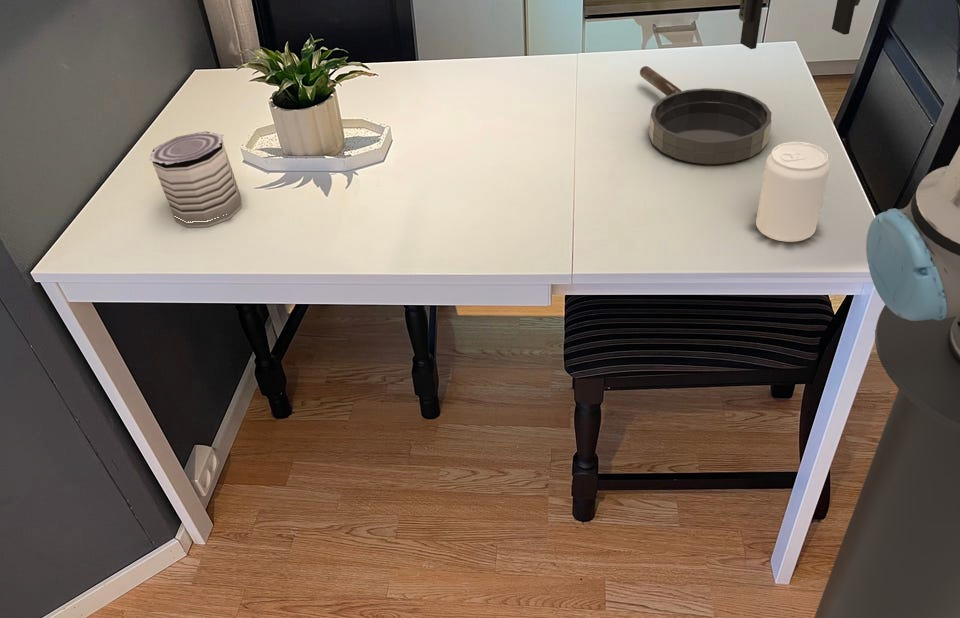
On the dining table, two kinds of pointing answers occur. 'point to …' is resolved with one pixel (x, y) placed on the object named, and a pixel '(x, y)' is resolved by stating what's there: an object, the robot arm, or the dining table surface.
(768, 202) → the beverage can
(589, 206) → the dining table surface
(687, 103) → the pan
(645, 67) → the pan handle
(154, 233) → the dining table surface
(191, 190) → the can
